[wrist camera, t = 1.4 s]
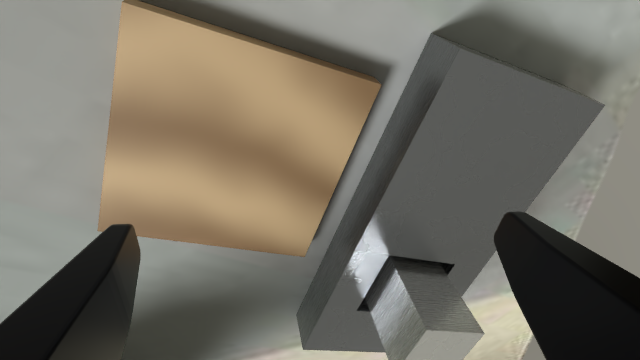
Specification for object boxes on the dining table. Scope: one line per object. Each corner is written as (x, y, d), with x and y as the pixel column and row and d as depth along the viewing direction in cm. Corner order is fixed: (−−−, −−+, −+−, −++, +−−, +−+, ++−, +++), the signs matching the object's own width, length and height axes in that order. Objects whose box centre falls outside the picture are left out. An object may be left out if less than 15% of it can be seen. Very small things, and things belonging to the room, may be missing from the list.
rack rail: (404, 322, 34) (418, 353, 31) (296, 314, 30) (302, 349, 28) (565, 86, 23) (605, 105, 21) (431, 33, 20) (460, 48, 17)
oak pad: (301, 244, 26) (304, 256, 25) (103, 217, 22) (97, 231, 21) (374, 77, 21) (381, 84, 20) (128, -3, 16) (121, 1, 15)
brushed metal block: (400, 277, 30) (449, 375, 24) (355, 272, 29) (394, 374, 22) (424, 239, 28) (484, 333, 22) (377, 231, 27) (426, 330, 20)
